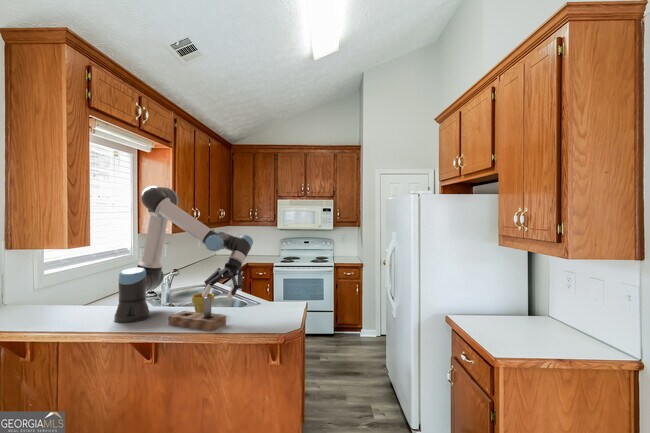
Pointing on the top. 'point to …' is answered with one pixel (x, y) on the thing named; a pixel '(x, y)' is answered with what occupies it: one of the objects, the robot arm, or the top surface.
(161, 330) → the top surface
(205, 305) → the metal pin
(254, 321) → the top surface
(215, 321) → the walnut block
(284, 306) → the top surface
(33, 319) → the top surface
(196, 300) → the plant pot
